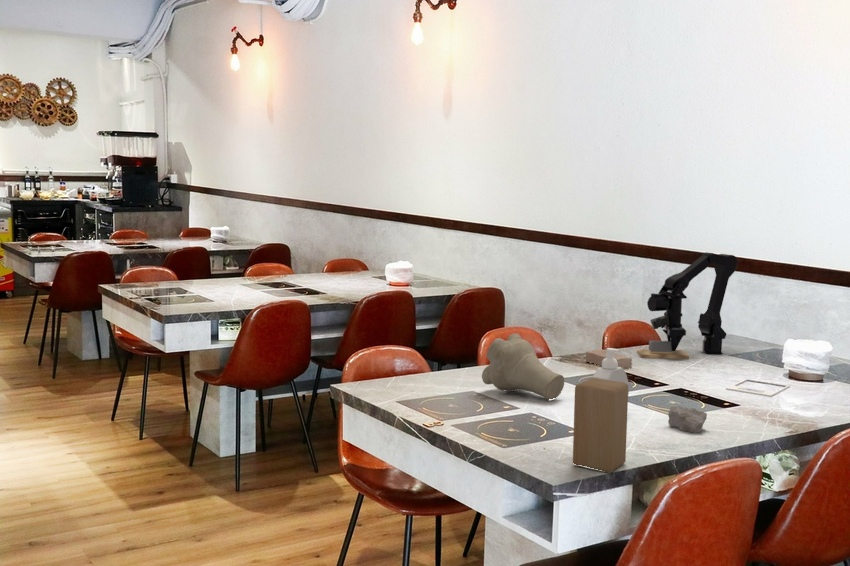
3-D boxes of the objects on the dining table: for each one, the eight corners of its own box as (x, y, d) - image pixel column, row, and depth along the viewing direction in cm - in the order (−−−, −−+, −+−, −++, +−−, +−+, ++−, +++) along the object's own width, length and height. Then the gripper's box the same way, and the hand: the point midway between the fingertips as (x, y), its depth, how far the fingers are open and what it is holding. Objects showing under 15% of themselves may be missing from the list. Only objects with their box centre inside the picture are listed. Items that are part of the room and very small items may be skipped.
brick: (633, 368, 322) (633, 356, 322) (616, 371, 318) (616, 358, 317) (600, 361, 336) (601, 348, 336) (584, 363, 332) (584, 350, 331)
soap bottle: (603, 424, 248) (606, 354, 245) (586, 421, 251) (589, 351, 249) (629, 412, 260) (631, 346, 258) (612, 409, 264) (615, 343, 261)
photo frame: (725, 387, 290) (746, 378, 304) (725, 390, 290) (745, 381, 304) (771, 394, 281) (789, 385, 295) (770, 398, 281) (789, 388, 295)
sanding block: (669, 351, 348) (670, 341, 347) (671, 353, 343) (672, 343, 342) (648, 350, 348) (649, 340, 348) (650, 353, 343) (651, 342, 343)
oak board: (683, 353, 350) (683, 350, 350) (689, 358, 339) (689, 355, 339) (636, 352, 352) (636, 349, 351) (641, 357, 341) (641, 354, 341)
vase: (595, 358, 274) (527, 325, 293) (555, 357, 258) (486, 322, 277) (572, 423, 278) (506, 386, 296) (532, 425, 262) (464, 386, 280)
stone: (663, 429, 244) (664, 409, 243) (672, 423, 250) (673, 403, 250) (700, 435, 238) (701, 414, 238) (707, 428, 245) (708, 407, 245)
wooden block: (588, 455, 220) (591, 376, 217) (626, 463, 214) (630, 382, 212) (570, 466, 211) (573, 384, 209) (610, 474, 206) (613, 390, 203)
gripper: (648, 306, 353) (646, 344, 355) (656, 313, 335) (655, 354, 336) (676, 306, 352) (675, 345, 354) (687, 314, 334) (685, 354, 336)
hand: (672, 349), depth 345 cm, fingers closed on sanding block, 5 cm apart
